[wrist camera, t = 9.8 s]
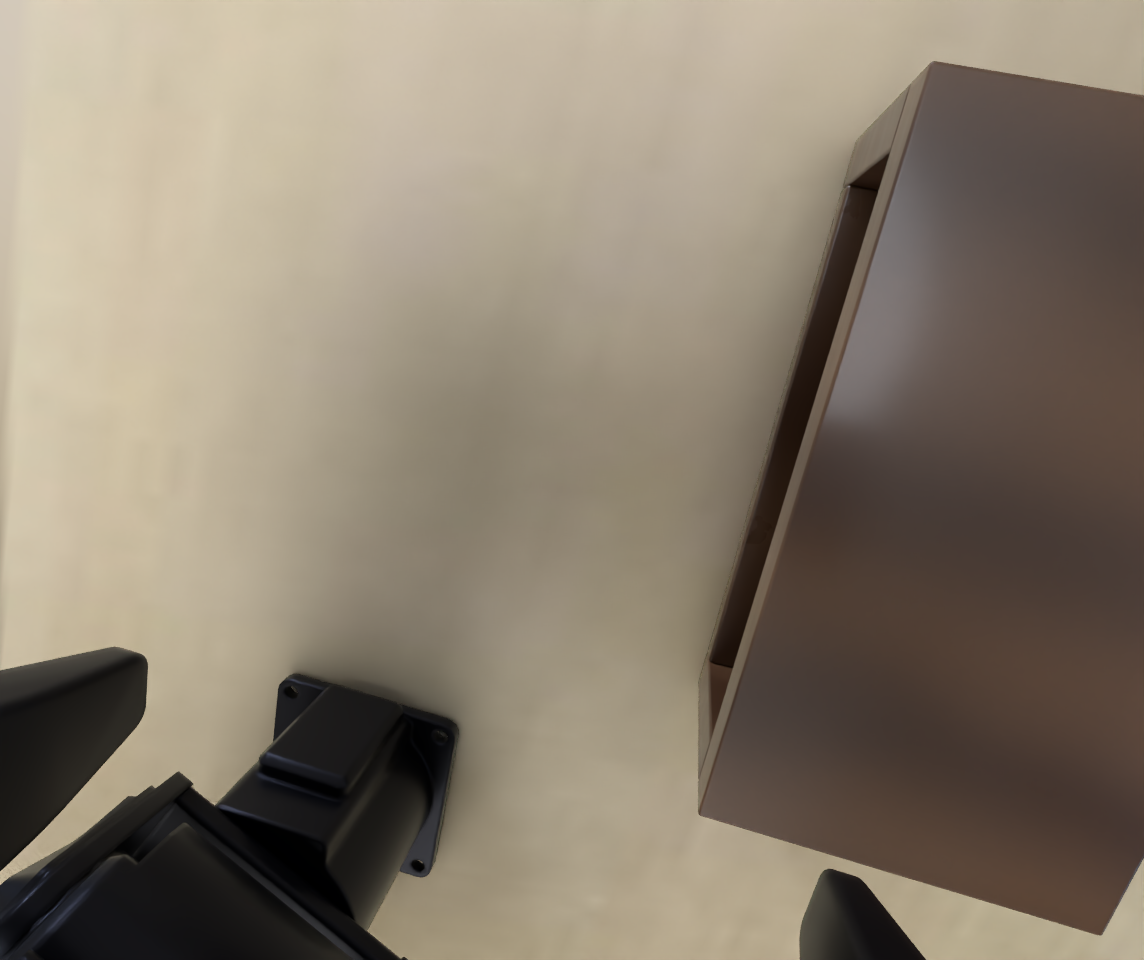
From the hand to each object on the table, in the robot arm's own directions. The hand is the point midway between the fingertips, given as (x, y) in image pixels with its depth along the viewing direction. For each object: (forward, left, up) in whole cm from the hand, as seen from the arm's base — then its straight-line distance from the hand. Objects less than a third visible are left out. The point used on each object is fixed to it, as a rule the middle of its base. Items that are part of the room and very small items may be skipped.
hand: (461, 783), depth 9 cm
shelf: (+3, -9, -13) cm, 16 cm away
